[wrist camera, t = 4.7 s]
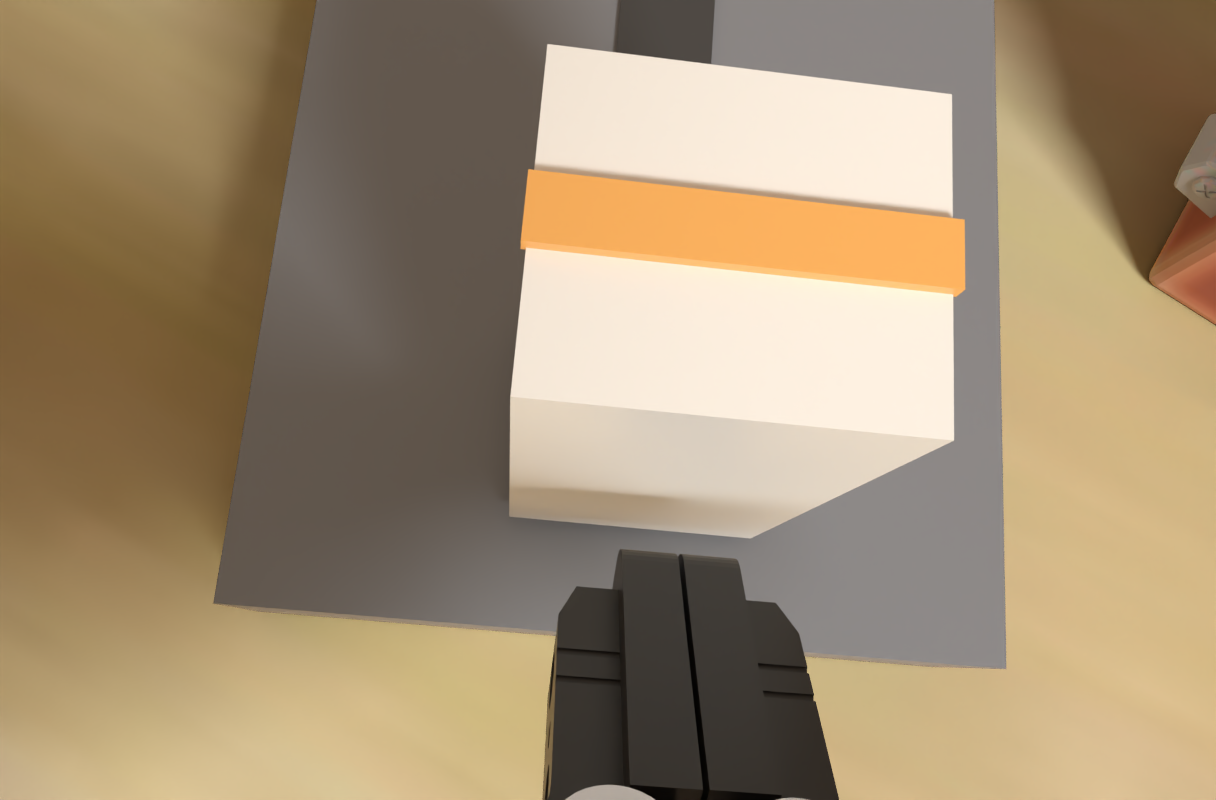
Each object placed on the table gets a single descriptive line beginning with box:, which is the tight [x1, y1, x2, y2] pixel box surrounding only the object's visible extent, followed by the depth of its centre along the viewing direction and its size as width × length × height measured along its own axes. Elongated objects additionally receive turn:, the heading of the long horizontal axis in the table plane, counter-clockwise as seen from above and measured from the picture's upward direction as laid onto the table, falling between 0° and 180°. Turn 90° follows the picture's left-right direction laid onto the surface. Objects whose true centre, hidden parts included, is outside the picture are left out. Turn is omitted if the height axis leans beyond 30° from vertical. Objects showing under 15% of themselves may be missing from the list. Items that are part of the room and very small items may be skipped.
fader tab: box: [509, 44, 965, 538], centre depth 13 cm, size 4×4×8 cm
